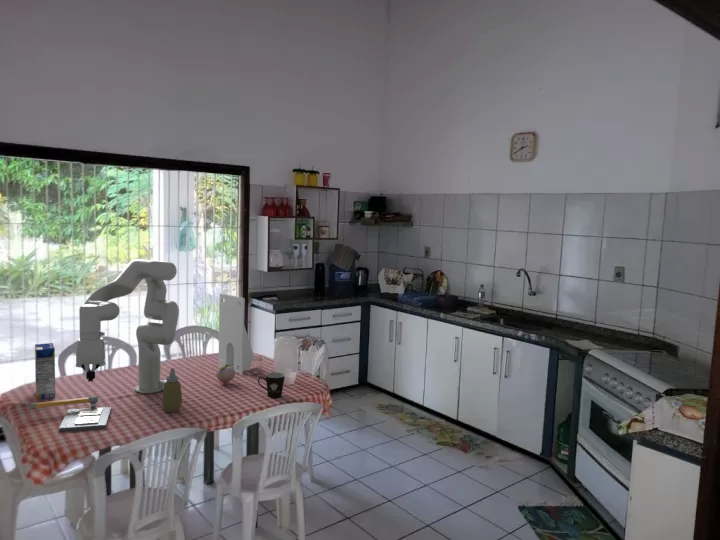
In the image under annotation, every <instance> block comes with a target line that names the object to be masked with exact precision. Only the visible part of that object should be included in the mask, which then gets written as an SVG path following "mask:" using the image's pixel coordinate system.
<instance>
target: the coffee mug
mask: <svg viewBox="0 0 720 540" xmlns="http://www.w3.org/2000/svg"><path fill="white" fill-rule="evenodd" d="M285 375H286V374H285V373H282V372H277V371H276V372H275V371H273V372H268V373H266V374H265V377H264V376H261V377H258V378H257V383H258V385H259V386H260V387H262V388H263V389H264V390H266V391H267V392H266V393H267V397H268V398H269V397H271V398H270V399H280V398H282V394H283V388H284V381H285ZM260 379H263V380H264V381H265V382H266V387H265V386H263V385H262V384H261V383H260ZM279 397H280V398H279Z"/></svg>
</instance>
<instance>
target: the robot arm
mask: <svg viewBox="0 0 720 540" xmlns="http://www.w3.org/2000/svg"><path fill="white" fill-rule="evenodd" d="M177 271H178V270H177V267H176V265H175V263H173V262H171V261H160V260H149V259H133V260H131V261H130V262H128V264H127V265H126V266H125V268H124V269H123V270H122V271H121V273H120V274H119V275H118V276H117V277H116V278H115V279H114V280H113V281H111V282H108V283H107V284H105V285H103V286H101V287H99V288H97V289H95V291H93V292H92V293H91V295H90V296H89V297H88V298H87V299H86V301H85V302H84V304H82V305H80V306H79V310H78V311H79V313H78V314H79V319H78V320H79V338H78V339H77V343H76V350H75V351H76V354H75V367H76V368H80V369H82V370H84V371H85V372H86V375H85V376H86V379H87V382H89V383H90V382H93V381H94V380H95V379H96V370H98V368H100V367H104V366H105V365H106V352H105V351H106V350H105V342H104V338H103V336H105V335H106V333H105V332H104V331H102V330H101V329H102V328H101V323H102V322H103V321H108V322H109V321H112V320H115V319H116V318H117V317H118V316H119V314H120V312H121V311H120V307H119V305H118V304H117V303H115V302H112V301H111V300H113V299H118V298H121V297H125V296H129V295H131V294H132V293H133V292H134V290H136V288H137V286H138V285H139V284H140V283H141V281H142V280H144V281H145V284H146V286H147V290H146V291H147V292H146V296H145V303H144V308H143V315H144V317H145V318H147V319H148V320H153V321H162V323H161V322H160V323H159V322H151V321H150V322H149V321H145V322H142V323H140V324H139V325H138V326H137V328H136V331H135V336H136V341H137V348H138V349H137V350H138V385H136V386H134V391H135V392H136V393H138V392H139V394H154V393H158V392H162V391H164V383H165V382H167V379H166V380H163V379H162V377H161V348H160V346H161V345H162V346H168V345H171V344H172V343H173V342H174V340H175V338H176V332H177V328H178V323H179V322H178V321H179V315H180V308H179V305H178V303H177V302H176V301H174V300H169V299H168V300H167V299H166V298H167V290H168V289H167V285H166V283H165V281H167V282H168V281H171V280H173V279H175V278H176V275H177ZM159 345H160V346H159ZM90 365H92V367H91V368H90Z"/></svg>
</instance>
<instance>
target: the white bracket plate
mask: <svg viewBox="0 0 720 540" xmlns="http://www.w3.org/2000/svg"><path fill="white" fill-rule="evenodd" d="M245 300H246V299H245V298H244V297H242V296H241V297H240V296H236V295H231V294H226V293H222V292H220V293H219V303H218V304H219V309H218V310H219V312H218V313H219V315H218V318H219V319H218V360H217V361H218V365H217V366H221V367H223V366H225V364H226V365H230V366H234V367H233V369H234V371H235V372H238V373H241V374H242V373H243V374H244V371H243V370H245V369H249V368H250V367H251V363H252V361H254V360H255V361H256V358H255V356H254V351H253V349H252V346H251V343H250V339H249V335H248V333H247V330H246V325H245V306H246V305H245V303H246V302H245Z"/></svg>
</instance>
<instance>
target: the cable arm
mask: <svg viewBox="0 0 720 540" xmlns="http://www.w3.org/2000/svg"><path fill="white" fill-rule="evenodd" d="M98 402H99V395H90V396H85V397H79V398H78V397H77V398H70V399H69V398H68V399H59V400H52V401H51V400H50V401H43V402H42V401H40V402H30V403H29V410H36V409H42V408H52V407H60V406H69V405H78V404H86V403H89V404H91V403H96V404H97V403H98Z"/></svg>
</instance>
